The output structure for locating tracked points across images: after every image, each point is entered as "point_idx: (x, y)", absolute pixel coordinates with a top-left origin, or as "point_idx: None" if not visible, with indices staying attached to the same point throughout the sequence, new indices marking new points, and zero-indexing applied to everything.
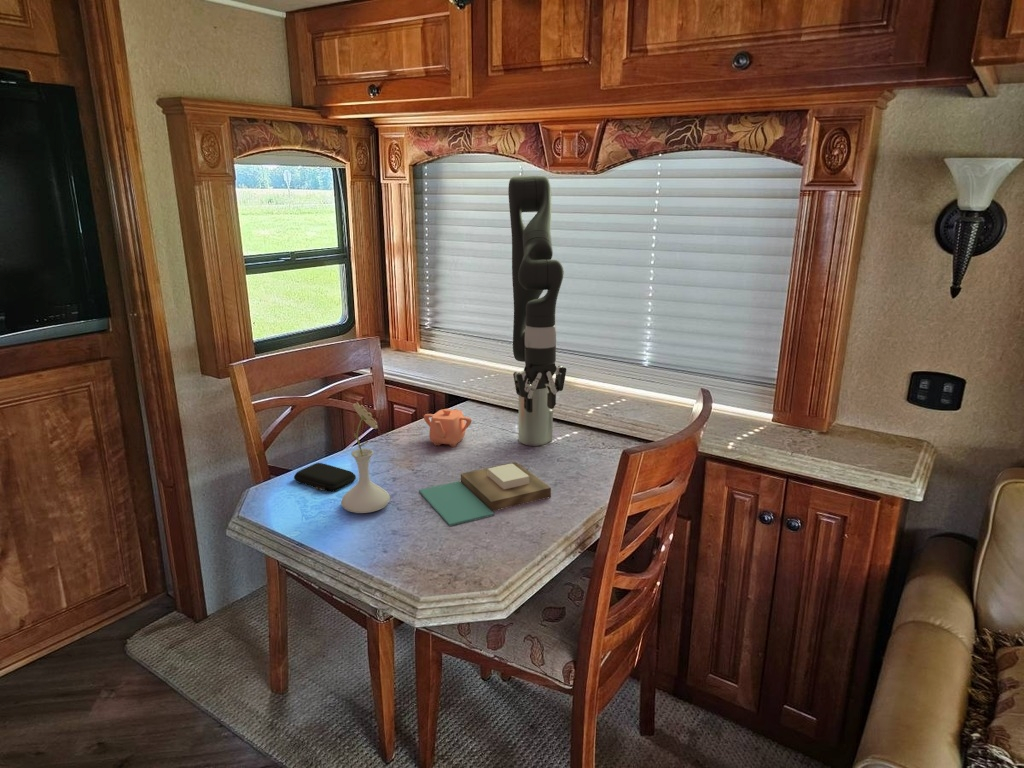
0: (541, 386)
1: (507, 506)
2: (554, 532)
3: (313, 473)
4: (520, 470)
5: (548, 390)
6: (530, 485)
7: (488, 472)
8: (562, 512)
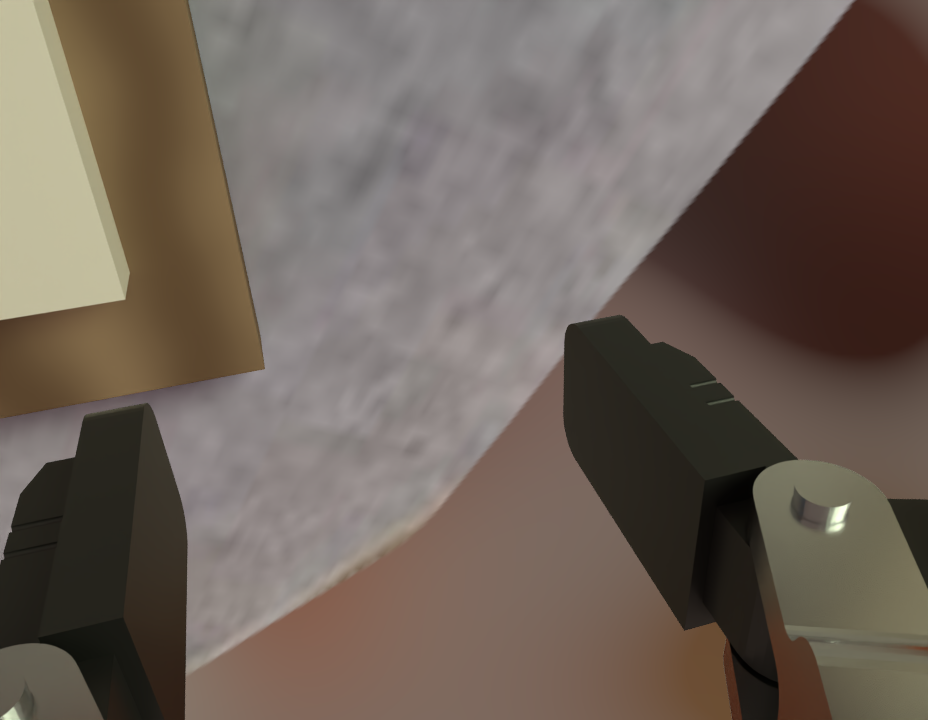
0: None
1: None
2: None
3: None
4: (75, 169)
5: (752, 543)
6: (131, 302)
7: None
8: (256, 503)
